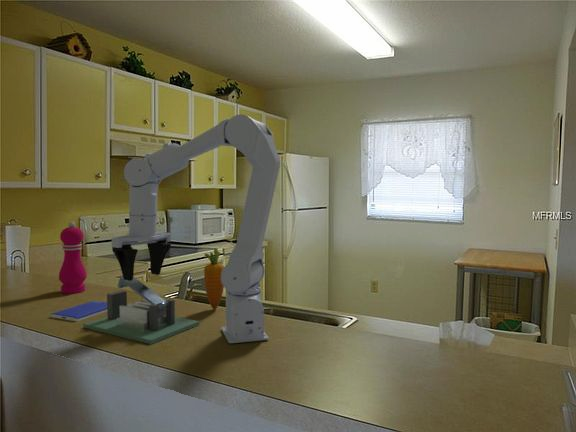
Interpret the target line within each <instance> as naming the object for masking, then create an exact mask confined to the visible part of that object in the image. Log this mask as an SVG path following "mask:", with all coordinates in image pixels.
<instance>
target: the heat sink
mask: <svg viewBox="0 0 576 432" xmlns="http://www.w3.org/2000/svg"><path fill="white" fill-rule="evenodd" d="M149 305H152V304H150V303H149V302H148V301H146V300H145V299H144V298H142V299H141V301H137V300H136V301H134V303H130V302H129V303H127V306H123V305H121V306H120V317H118V318H117V325H118V326H123V327H127V328H131V329H136V330H140V331H144V332H145V331H147V330H150V324H149ZM164 324H167V318H166V307H165V308H162V309H159V310H158V326H161V325H164Z"/></svg>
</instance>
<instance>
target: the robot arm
mask: <svg viewBox="0 0 576 432" xmlns="http://www.w3.org/2000/svg"><path fill="white" fill-rule="evenodd" d="M274 138H275V136H274V133H273V132H272V131H271V130H270V129H269V128H268V126H267V125H266V124H265V123H264V122H262V121H259V120H256V119H254V118H252V117H250V116H248V115H247V114H241V113H239V114H235V115H233V116H232V117H230V118H226V119H223V120H221V121H220V122H219V123H218V124H217V125H215V126H212V127H211V128H210V129H207V130H206V131H204V132H202V133H201V134H199V135H197V136H196V137H194V138H192V139H190V140H188V141H187V142H185V143H183V144H181V145H180V144H178V143H176V142H174V143H170V142H166V143H164V144H162V148H160V149H159V150H157V151H154V152H153V153H150V152H148V153H146V154H145V155H144V158H143V159H142V158H138V157H133V158H132V159H130V160H129V161H128V162H127V163H126V164H125V166H124V168H123V177H124V179H125V181H126V182H127V183H128V184H129V194H128V196H129V198H128V199H129V200H128V201H129V202H128V203H129V206H128V210H129V212H128V215H129V216H128V233H127V235H121V236H116V237H115V236H114V237H111V249H112V252H113V255H114V256H115V257H116V259H117V261H118V263H119V267H120V270H121V273H122V277H123V279H124V280H128V281H131V280H133V277H134V272H135V261H136V258H137V254H138V249H137V248H133V246H139V245H146V246H147V248H148V252H149V259H150V261H149V263H150V264H149V265H150V269H149V270H150V274H151V275H154V276H159V275H161V270H162V267H163V264H164V260H165V258H166V256H167V254H168V252H169V251H170V249H171V247H172V245H171V233H170V232H157V224H158V223H157V222H158V192H159V185H160V184H161V182H162V181H163V179H165V178H168V177H170V176H172V175H174V174H176V173H178V172H180V171H182V170H184V169H186V168H187V167H188V165H189V162H190V160H191V159H194V158H196V157H198V156H201V155H204V154H205V153H208V152H210V151H213V150H215V149H217V148H219V147H223V146H226V147H234V148H235V149H236V150H237V151H240V152H241V153H242V154H243V156H244V158H245V159H246V160H247V161H248V163H249V164H250V165H251V167H252V170H251V175H250V179H249V185H248V190H247V193H246V198H245V203H244V208H243V213H242V217H241V221H240V225H239V232H238V236H237V239H236V240H237V241H236V244H235V245H234V247H233V249H232V251H231V252H230V254H229V257H228V258H229V259H228V261H227V263H226V265H225V266H224V268H223V270H222V273H221V282H222V284H223V286H224V288H223V289H225V326H221V331H222V332H223V334H224V337H225V338H226V340H227V342H228V344H238V343H249V342H250V343H251V342H258V341H259V342H260V341H268V340H269V339H270V337H269V336H268V335H267V333H266V332H265V309H264V306H263V304H262V287H261V283H260V282H261V281H262V280H263V279H264V276H265V271H266V270H265V265H264V257H265V252H264V250H263V244H264V240H265V235H266V234H265V233H266V230H267V225H268V223H269V217H270V211H271V208H272V203H273V199H274V195H275V190H276V186H277V185H276V184H277V180H278V176H279V171H280V167H281V160H280V157H279V153H278V150H277V147H276V143H275V141H274V140H275V139H274Z"/></svg>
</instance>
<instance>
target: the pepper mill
mask: <svg viewBox="0 0 576 432" xmlns="http://www.w3.org/2000/svg"><path fill="white" fill-rule="evenodd" d="M67 226H68V227H65V228H64V229H62V230H61V231H60V236H59V239H60V241H61V242H62V250H63V253H64V257H63V258H64V259H63V262H62V264H61V267H60V269H59V272H58V280H59V281H60V283H61V284H62V285H61V286H60V292H61V294H68V295H69V294H72V295H73V294H79V293H82V292H85V291H86V283H84V282H85V280H86V279H87V277H88V276H87V271H86V267H85V265H84V264H83V261H82V257H81V250H82V249H83V248H82V247H83V245H82V242H83V240H84V238H85V237H84V232H83V231H82V229H81V228H78V227H76V223H75V222H74V221H69V222H68V224H67Z"/></svg>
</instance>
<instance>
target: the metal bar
mask: <svg viewBox="0 0 576 432" xmlns="http://www.w3.org/2000/svg"><path fill="white" fill-rule="evenodd" d="M127 287H129V288H130V289H131V290H132V291H133V292H135V293H136V294H137V295H139V296H140V297H141V298H142V299H145V300H146V301H148V302H149V303H150V304H154V305H158V310H159V309H162V308H165V307H168V306H169V305H170V304H169V302H168V301H166V300H165V299H164V298H163V297H161V296H160V295H159V294H158V293H156V292H154V291H153V290H152V289H150V288H149V287H148V286H147V285H145V283H143V282H141V281H140V280H138V279H137V278H136V277H135V276H133V280H131V281H128V280H124V279H123V276H120V277H119V280H118V283H117V288H119V289H123V288H127Z"/></svg>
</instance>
